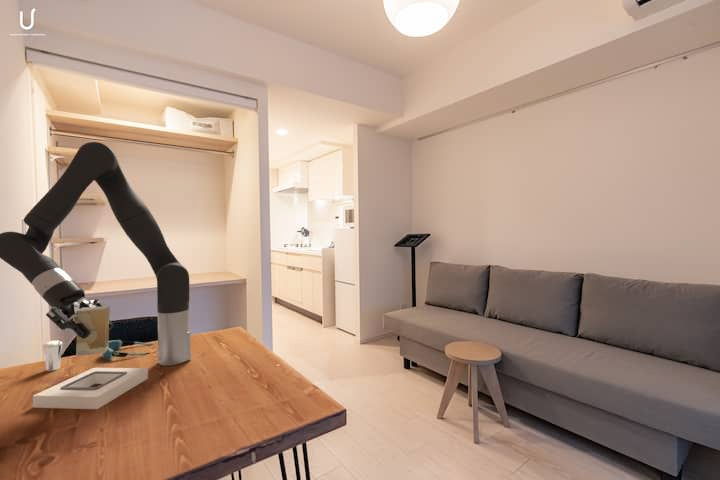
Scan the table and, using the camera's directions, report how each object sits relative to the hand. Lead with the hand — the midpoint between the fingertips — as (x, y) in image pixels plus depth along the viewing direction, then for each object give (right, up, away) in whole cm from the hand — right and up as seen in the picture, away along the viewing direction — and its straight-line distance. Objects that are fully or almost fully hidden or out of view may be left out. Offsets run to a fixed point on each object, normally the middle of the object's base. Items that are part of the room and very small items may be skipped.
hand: (99, 332), depth 87 cm
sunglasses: (-14, -17, +30) cm, 38 cm away
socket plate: (-1, -16, 0) cm, 16 cm away
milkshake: (-27, -17, +16) cm, 36 cm away
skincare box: (-2, -6, 0) cm, 6 cm away
